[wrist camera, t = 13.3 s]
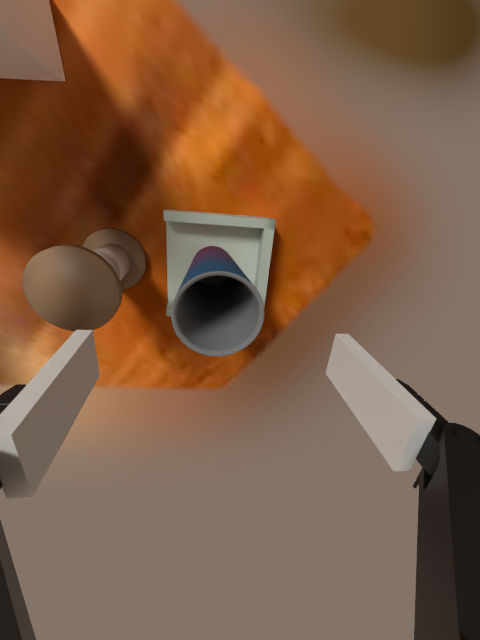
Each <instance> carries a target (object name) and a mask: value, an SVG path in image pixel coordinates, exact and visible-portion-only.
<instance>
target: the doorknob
mask: <svg viewBox="0 0 480 640" xmlns="http://www.w3.org/2000/svg"><path fill="white" fill-rule="evenodd" d="M146 265H147V260H146V255H145V252H144V249H143V247H142V246H141V244H140V243H139V242H138V240H137V239H136V238H134V237H133V236H132V235H131V234H129V233H127V232H125V231H123V230H120V229H115V228H106V229H102V230H99V231H96V232H94V233H92V234H91V235H89V236H88V237H87V238H86V240H85V241H84V243H83V245H82V247H81V246H77V245H58V246H54V247H51V248H48V249H45V250H43V251H41V252H39V253H37V254H36V255H35V256H33V257H32V258H31V259H30V261H29V262H28V263H27V265H26V267H25V269H24V272H23V278H22V284H23V290H24V293H25V296H26V298H27V300H28V302H29V304H30V305H31V307H32V308H33V309H34V310H35V311H36V312H37V313H38V314H39V315H40V316H41V317H42V318H43V319H45V320H46V321H48V322H49V323H51V324H53V325H55V326H57V327H60V328H62V329H66V330H71V331H76V330H94V329H97V328H99V327H101V326H103V325H105V324H106V323H107V322H108V321H109V320H110V319H111V318H112V317H113V316H114V314H115V313H116V312H117V310H118V308H119V306H120V304H121V300H122V290H123V289H127V288H130V287H132V286H134V285H135V284H136V283H137V282H138V281H139V280H140V279H141V278H142V276H143V275H144V272H145V270H146Z"/></svg>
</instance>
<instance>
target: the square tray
mask: <svg viewBox="0 0 480 640" xmlns="http://www.w3.org/2000/svg"><path fill="white" fill-rule="evenodd" d="M163 215H164V221H166V239H167V280H168V304H167V308H166V316H170V317H171V308H172V304H173V300H174V298H175V296H176V294H177V292H178V290H179V288H180V286H181V284H182V281H183V279H184V277H185V275H186V273H187V271H188V269H189V267H190V265H191V263H192V260H193V258H194V256H195V255H196V253H197V252H198V251H199V250H201V249H202V248H204V247H208V246H217V247H220V248H222V249H224V250H225V251H227V252H228V254H229V255H230V256H231V257H232V259H233V260H234V261H235V262H236V264H237V265H238V266H239V268H240V269H241V270H242V271H243V273H244V274H245V275H246V276H247V278H248V279H249V280H250V281H251V283H252V284H253V285H254V287H255V288H256V289H257V290H258V292H259V294H260V296H261V298H262V301H263V304H264V306H265V299H266V291H267V283H268V276H269V268H270V260H271V253H272V245H273V237H274V230H275V222H276V220H275V219H272V218H267V217H255V216H243V215H231V214H219V213H207V212H195V211H183V210H171V209H166V210H163Z"/></svg>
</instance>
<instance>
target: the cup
mask: <svg viewBox="0 0 480 640" xmlns="http://www.w3.org/2000/svg"><path fill="white" fill-rule="evenodd" d="M264 315H265V314H264V304H263V301H262V298H261V296H260V294H259V292H258V290H257V289H256V288H255V287H254V285H253V284H252V283H251V281H250V280H249V279H248V278H247V276H246V275H245V274H244V273H243V271H242V270H241V269H240V268H239V266H238V265H237V264H236V262H235V261H234V260H233V259H232V257H231V256H230V255H229V254H228V252H227V251H225V250H224V249H222V248H220V247H217V246H208V247H204V248H202V249H201V250H199V251H198V252H197V253H196V255H195V256H194V258H193V260H192V263H191V265H190V267H189V269H188V271H187V273H186V275H185V277H184V279H183V281H182V284H181V286H180V288H179V290H178V292H177V294H176V296H175V298H174V300H173V304H172V308H171V321H172V325H173V328H174V330H175V333H176V335H177V336H178V337H179V339H180V340H181V341H182V342H183V343H184V344H185V345H186V346H187V347H188V348H190V349H192V350H193V351H195V352H198V353H200V354H203V355H208V356H226V355H230V354H234V353H237V352H239V351H240V350H242V349H244V348H245V347H247V346H248V345H249V344H251V343H252V341H253V340H254V339H255V338H256V337H257V335H258V334H259V332H260V330H261V328H262V325H263V321H264Z"/></svg>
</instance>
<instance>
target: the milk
mask: <svg viewBox="0 0 480 640" xmlns="http://www.w3.org/2000/svg"><path fill="white" fill-rule="evenodd" d="M0 78H4V79H24V80H44V81H63V82H65V75H64V71H63V66H62V61H61V56H60V51H59V46H58V41H57V36H56V31H55V26H54V21H53V16H52V12H51V7H50V2H49V0H0Z"/></svg>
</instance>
